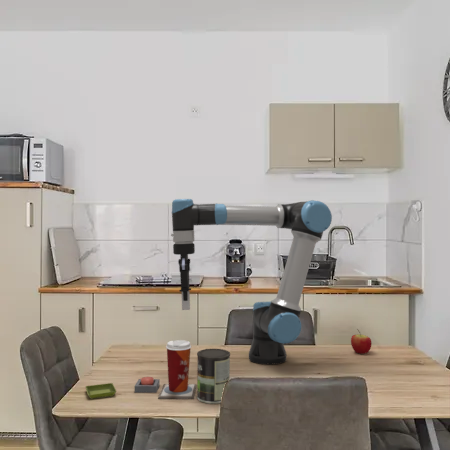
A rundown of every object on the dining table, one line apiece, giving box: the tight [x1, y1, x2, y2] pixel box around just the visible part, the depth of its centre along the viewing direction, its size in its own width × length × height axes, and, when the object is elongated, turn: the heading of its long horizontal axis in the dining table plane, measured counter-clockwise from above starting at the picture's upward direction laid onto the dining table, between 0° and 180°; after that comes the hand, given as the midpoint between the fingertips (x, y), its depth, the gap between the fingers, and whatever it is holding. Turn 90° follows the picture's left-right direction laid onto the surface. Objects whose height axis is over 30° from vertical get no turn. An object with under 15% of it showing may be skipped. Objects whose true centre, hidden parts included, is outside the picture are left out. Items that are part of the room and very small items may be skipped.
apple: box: [350, 328, 372, 355], centre depth 201 cm, size 8×8×10 cm
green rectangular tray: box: [85, 382, 117, 400], centre depth 153 cm, size 9×9×2 cm
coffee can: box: [196, 348, 231, 405], centre depth 150 cm, size 10×10×14 cm
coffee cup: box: [165, 339, 192, 392], centre depth 155 cm, size 8×8×15 cm
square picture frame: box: [157, 383, 197, 400], centre depth 155 cm, size 11×12×1 cm
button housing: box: [134, 378, 161, 394], centre depth 158 cm, size 7×7×2 cm
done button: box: [140, 376, 154, 385], centre depth 158 cm, size 4×4×3 cm
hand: (186, 309), depth 170 cm, fingers closed
